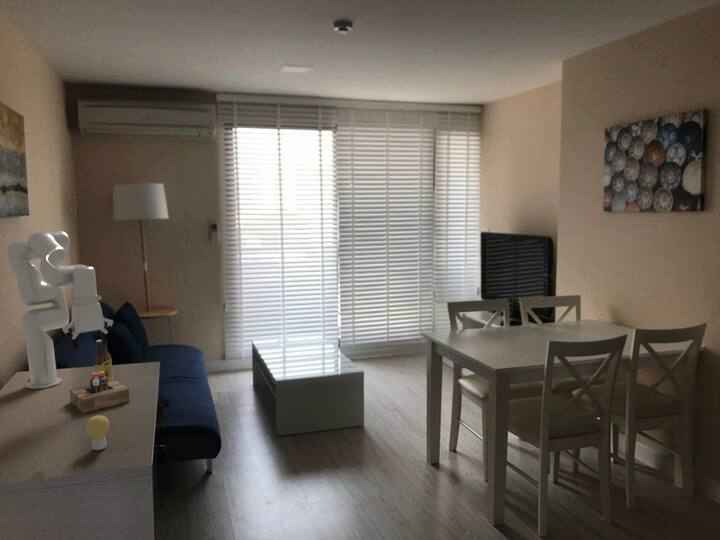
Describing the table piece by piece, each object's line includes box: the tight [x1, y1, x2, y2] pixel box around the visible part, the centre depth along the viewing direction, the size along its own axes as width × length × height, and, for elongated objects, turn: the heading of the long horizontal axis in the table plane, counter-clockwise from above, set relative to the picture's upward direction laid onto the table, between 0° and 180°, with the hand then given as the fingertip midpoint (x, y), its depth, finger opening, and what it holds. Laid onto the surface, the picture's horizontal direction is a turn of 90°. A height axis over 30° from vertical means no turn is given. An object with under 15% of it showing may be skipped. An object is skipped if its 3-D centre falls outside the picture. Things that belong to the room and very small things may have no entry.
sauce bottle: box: [93, 339, 114, 381], centre depth 224 cm, size 6×6×20 cm
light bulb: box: [85, 414, 110, 451], centre depth 168 cm, size 6×6×10 cm
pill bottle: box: [89, 371, 108, 394], centre depth 210 cm, size 6×6×11 cm
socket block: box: [69, 378, 131, 414], centre depth 210 cm, size 16×16×5 cm
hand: (90, 346), depth 209 cm, fingers open, 9 cm apart
